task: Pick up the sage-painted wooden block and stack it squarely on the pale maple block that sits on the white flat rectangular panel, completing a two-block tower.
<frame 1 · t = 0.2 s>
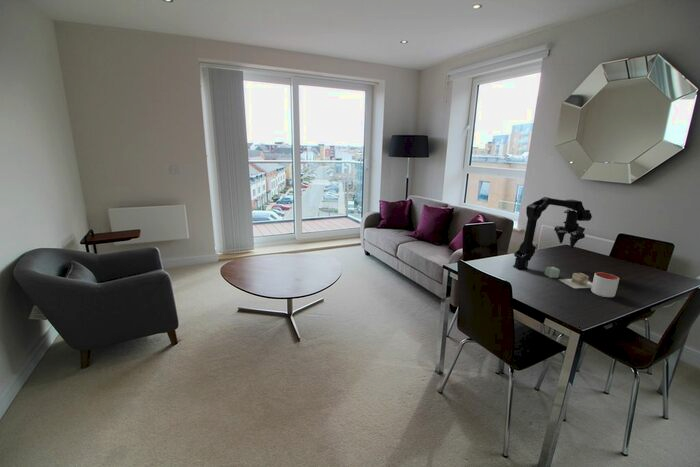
hand: (566, 245, 199), 14 cm above the table, fingers open, 9 cm apart
sage block: (551, 276, 188), on the table
cup: (602, 294, 166), on the table
maple block: (578, 283, 178), resting on white flat rectangular panel
white flat rectangular panel: (578, 283, 178), on the table
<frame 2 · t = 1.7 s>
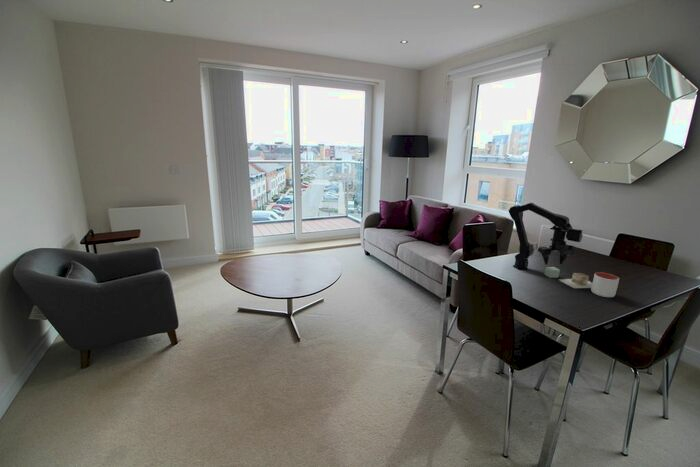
hand: (553, 264, 186), 7 cm above the table, fingers open, 9 cm apart
nothing on the table moved.
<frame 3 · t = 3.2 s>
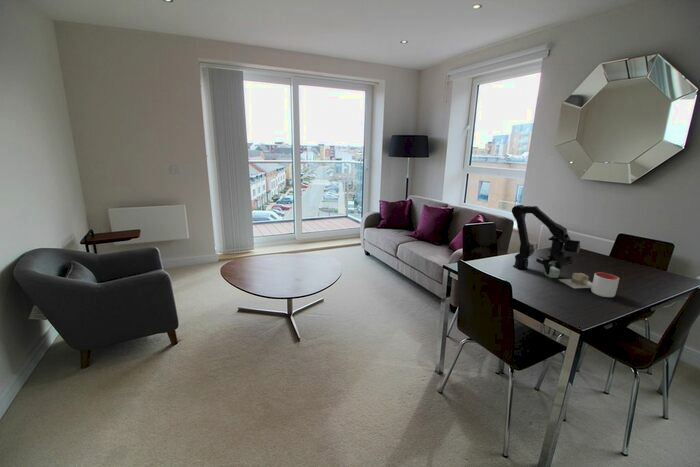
hand: (551, 274, 187), 1 cm above the table, fingers closed on sage block, 5 cm apart
sage block: (551, 276, 187), on the table, touching gripper
everything else where it was.
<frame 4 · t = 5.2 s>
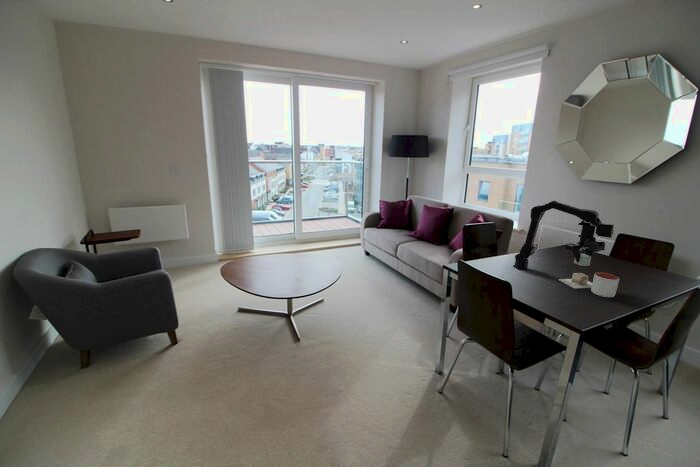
hand: (581, 262, 175), 13 cm above the table, fingers closed on sage block, 5 cm apart
sage block: (581, 264, 175), point 11 cm above the table, touching gripper
everything else where it was.
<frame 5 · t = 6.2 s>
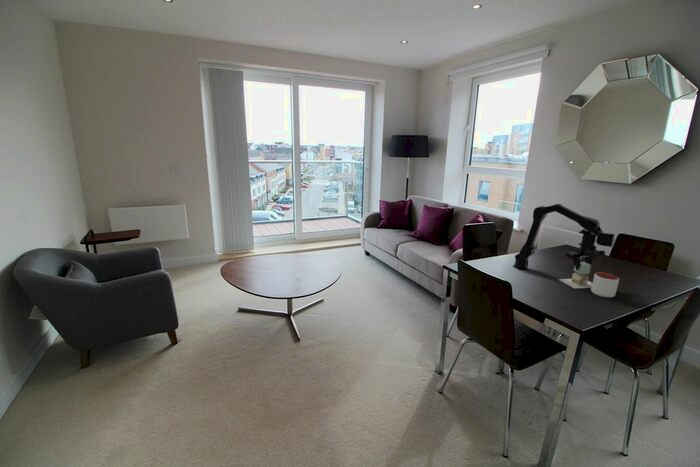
hand: (581, 270, 176), 8 cm above the table, fingers closed on sage block, 5 cm apart
sage block: (581, 272, 176), point 7 cm above the table, touching gripper
everything else where it was.
when the fingers open (8 cm above the table, at t = 7.1 s): sage block drops 1 cm, resting on maple block.
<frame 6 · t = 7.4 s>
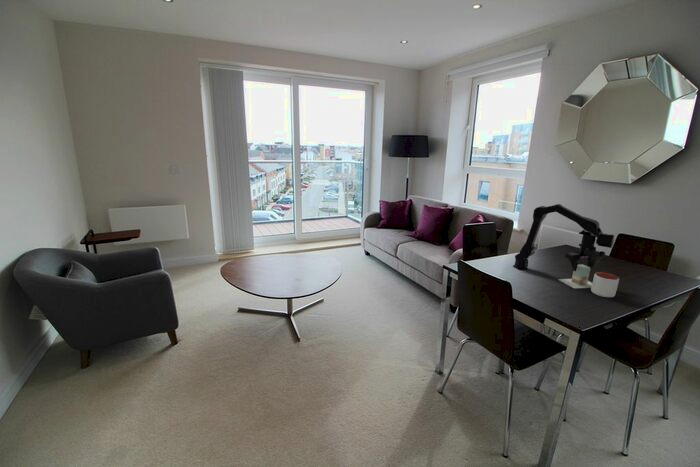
hand: (581, 270, 176), 8 cm above the table, fingers open, 8 cm apart
sage block: (580, 274, 176), point 5 cm above the table, touching maple block
maple block: (578, 283, 178), resting on white flat rectangular panel, touching sage block
everything else where it was.
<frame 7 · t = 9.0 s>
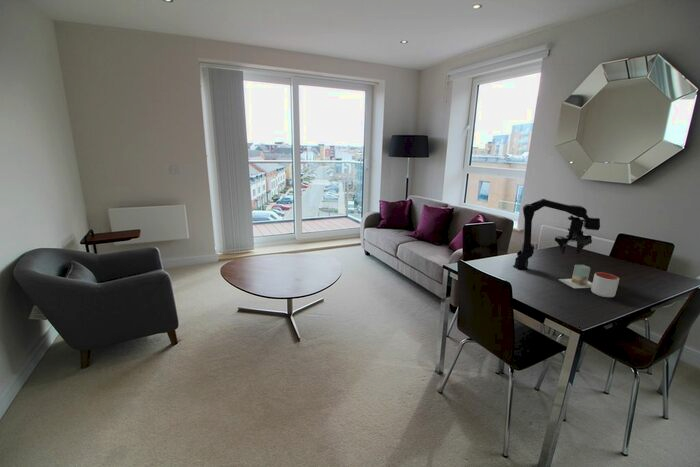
hand: (570, 254, 187), 13 cm above the table, fingers open, 9 cm apart
nothing on the table moved.
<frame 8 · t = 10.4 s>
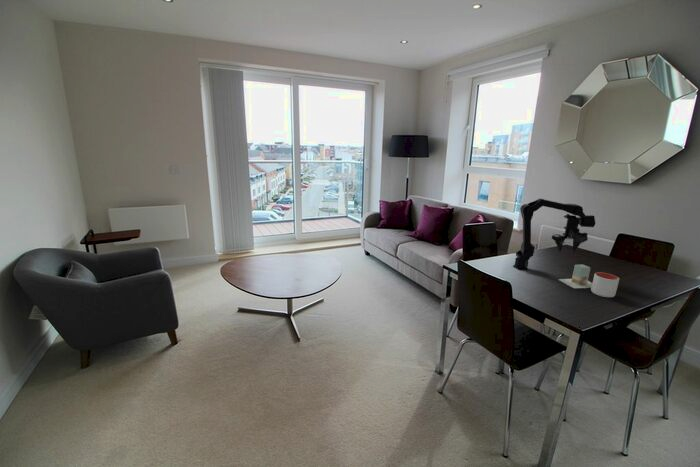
hand: (566, 251, 191), 13 cm above the table, fingers open, 9 cm apart
nothing on the table moved.
at the end: sage block 0.1 cm off-centre on the maple block, point 5.0 cm above the maple block's base; sage block tilted 0°; the gripper is holding nothing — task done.
